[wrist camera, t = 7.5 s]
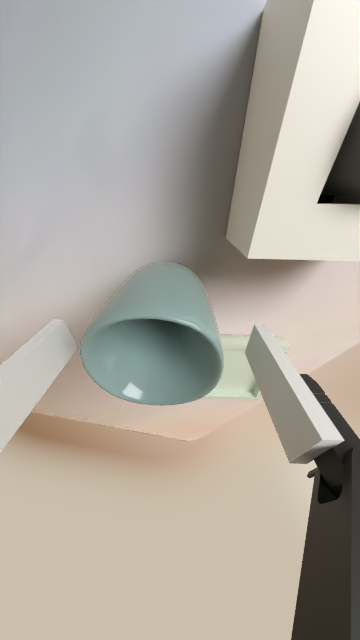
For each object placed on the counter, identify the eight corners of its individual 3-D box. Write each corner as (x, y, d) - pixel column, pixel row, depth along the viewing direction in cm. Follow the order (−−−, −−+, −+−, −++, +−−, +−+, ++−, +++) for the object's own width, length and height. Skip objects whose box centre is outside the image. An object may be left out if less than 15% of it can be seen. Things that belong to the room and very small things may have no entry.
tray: (184, 333, 20) (184, 343, 19) (282, 336, 20) (289, 346, 19) (182, 387, 28) (182, 397, 26) (254, 389, 27) (258, 399, 26)
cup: (140, 321, 19) (108, 407, 11) (121, 253, 15) (45, 316, 7) (205, 318, 19) (220, 406, 11) (207, 247, 14) (235, 308, 6)
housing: (263, 8, 8) (392, -307, 3) (475, 9, 8) (973, -318, 3) (225, 238, 14) (247, 258, 9) (344, 240, 14) (431, 262, 9)
